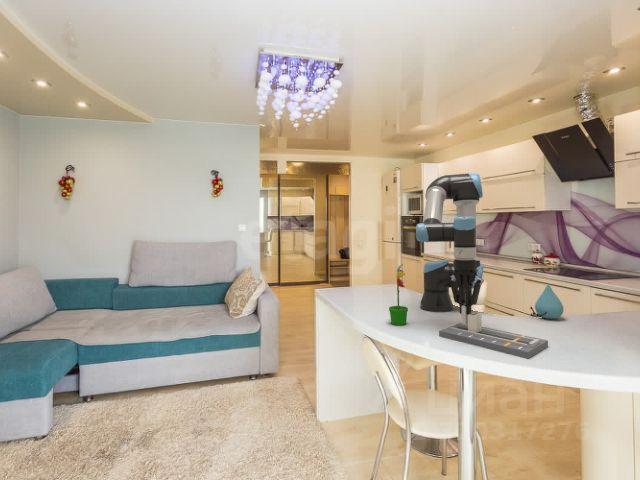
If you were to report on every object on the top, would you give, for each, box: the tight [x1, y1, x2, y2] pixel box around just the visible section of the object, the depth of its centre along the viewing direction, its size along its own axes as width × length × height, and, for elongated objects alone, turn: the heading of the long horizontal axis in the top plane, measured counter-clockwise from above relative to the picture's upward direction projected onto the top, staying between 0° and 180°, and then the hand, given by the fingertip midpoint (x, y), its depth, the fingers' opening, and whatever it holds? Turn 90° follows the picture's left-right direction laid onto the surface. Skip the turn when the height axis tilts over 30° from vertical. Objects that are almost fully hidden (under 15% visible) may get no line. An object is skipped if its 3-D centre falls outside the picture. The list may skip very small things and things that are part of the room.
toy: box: [530, 283, 564, 320], centre depth 149 cm, size 15×12×15 cm
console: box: [438, 322, 549, 360], centre depth 122 cm, size 16×30×3 cm, turn 39°
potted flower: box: [388, 263, 409, 326], centre depth 146 cm, size 9×8×25 cm
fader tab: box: [467, 312, 483, 333], centre depth 126 cm, size 4×3×6 cm
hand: (465, 322), depth 129 cm, fingers closed
